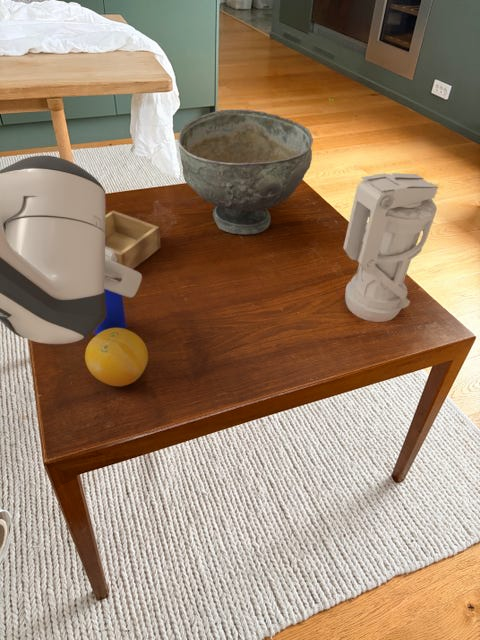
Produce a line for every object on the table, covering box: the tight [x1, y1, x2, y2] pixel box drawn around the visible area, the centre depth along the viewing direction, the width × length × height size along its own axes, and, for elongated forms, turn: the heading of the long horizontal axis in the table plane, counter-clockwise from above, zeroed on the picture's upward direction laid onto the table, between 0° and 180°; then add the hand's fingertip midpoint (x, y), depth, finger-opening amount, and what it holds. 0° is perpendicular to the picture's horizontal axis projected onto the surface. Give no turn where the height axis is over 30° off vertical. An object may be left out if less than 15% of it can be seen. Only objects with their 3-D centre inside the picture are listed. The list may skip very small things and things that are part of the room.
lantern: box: [343, 172, 439, 323], centre depth 81 cm, size 13×10×25 cm
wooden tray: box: [105, 210, 162, 270], centre depth 97 cm, size 12×12×5 cm
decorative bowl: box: [177, 108, 314, 235], centre depth 104 cm, size 26×26×20 cm
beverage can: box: [93, 247, 127, 336], centre depth 76 cm, size 5×5×15 cm
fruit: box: [84, 328, 149, 387], centre depth 72 cm, size 9×8×8 cm
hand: (102, 271), depth 74 cm, fingers open, 8 cm apart
